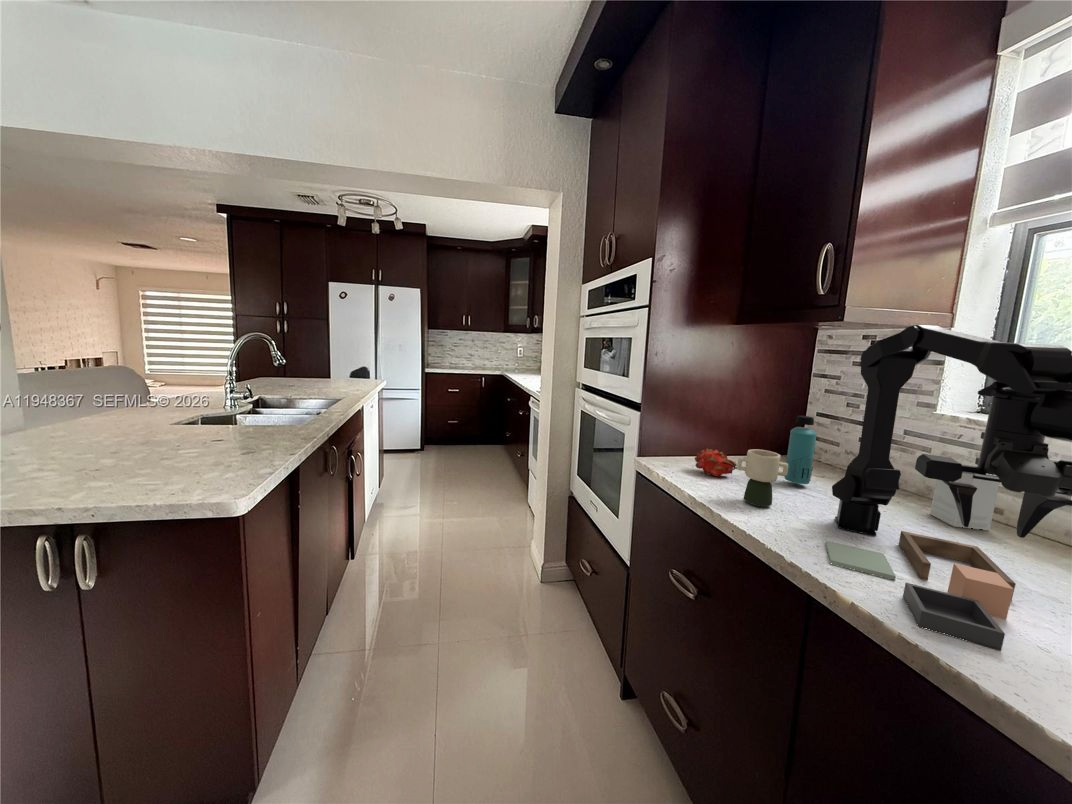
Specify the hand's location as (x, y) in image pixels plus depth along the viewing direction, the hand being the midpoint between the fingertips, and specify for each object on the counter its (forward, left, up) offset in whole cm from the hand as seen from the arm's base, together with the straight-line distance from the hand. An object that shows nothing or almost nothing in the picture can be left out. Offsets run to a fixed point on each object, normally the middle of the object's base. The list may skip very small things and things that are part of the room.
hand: (991, 531), depth 62 cm
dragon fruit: (-43, +44, -12) cm, 62 cm away
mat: (-14, +6, -12) cm, 19 cm away
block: (0, 0, -12) cm, 12 cm away
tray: (-6, -8, -12) cm, 16 cm away
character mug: (-31, +26, -12) cm, 42 cm away
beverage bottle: (-22, +49, -12) cm, 55 cm away
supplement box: (+10, +43, -12) cm, 45 cm away
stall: (0, +12, -12) cm, 17 cm away
